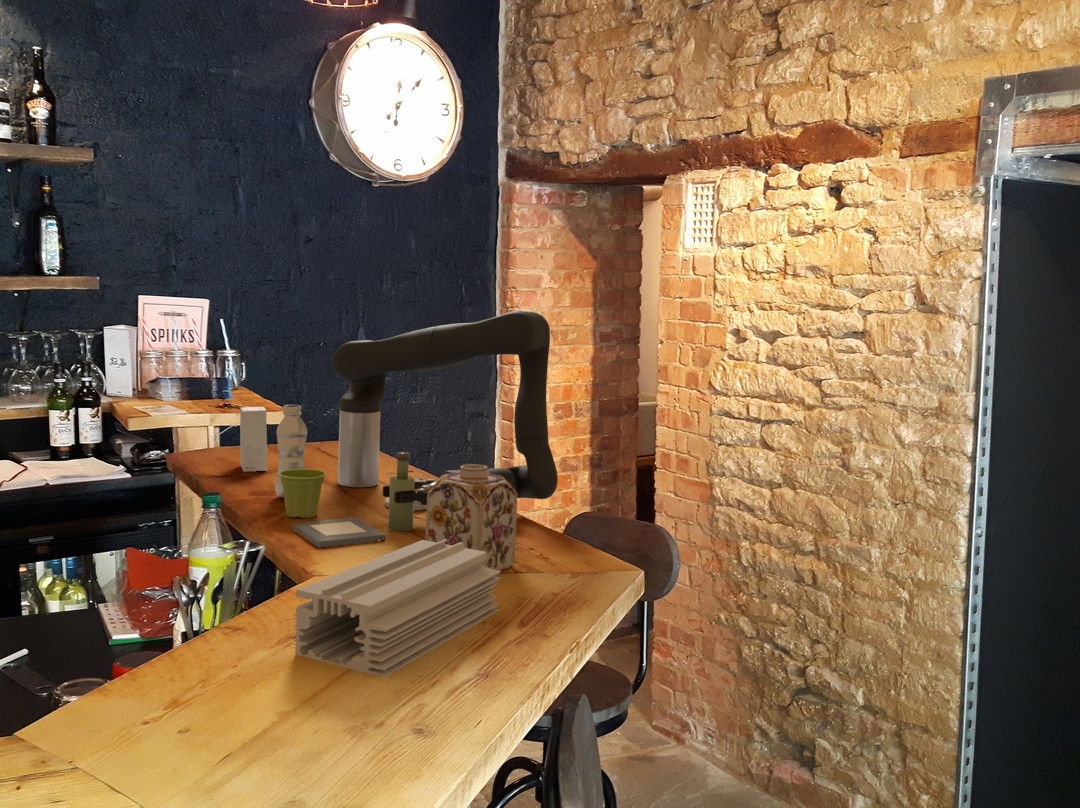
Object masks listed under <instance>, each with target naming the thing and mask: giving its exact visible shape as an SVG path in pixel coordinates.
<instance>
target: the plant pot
mask: <svg viewBox="0 0 1080 808" xmlns="http://www.w3.org/2000/svg"><path fill="white" fill-rule="evenodd" d="M278 475H279V476H280V478H281V483H282V485H283V492H284V498H283V499H284V507H285V515H286V517H290V518H293V517H294V518H295V519H296V518H297V517H299V518H301V519H308V518H313V517H316V516H317V515H318V511H319V505H320V497H321V491H322V485H323V483H324V480H325V477H326V476H327V472H326V471H324V470H320V469H319V470H318V469H313V468H312V469H311V468H304V469H291V470H284V471H281V472H279V473H278Z"/></svg>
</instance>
